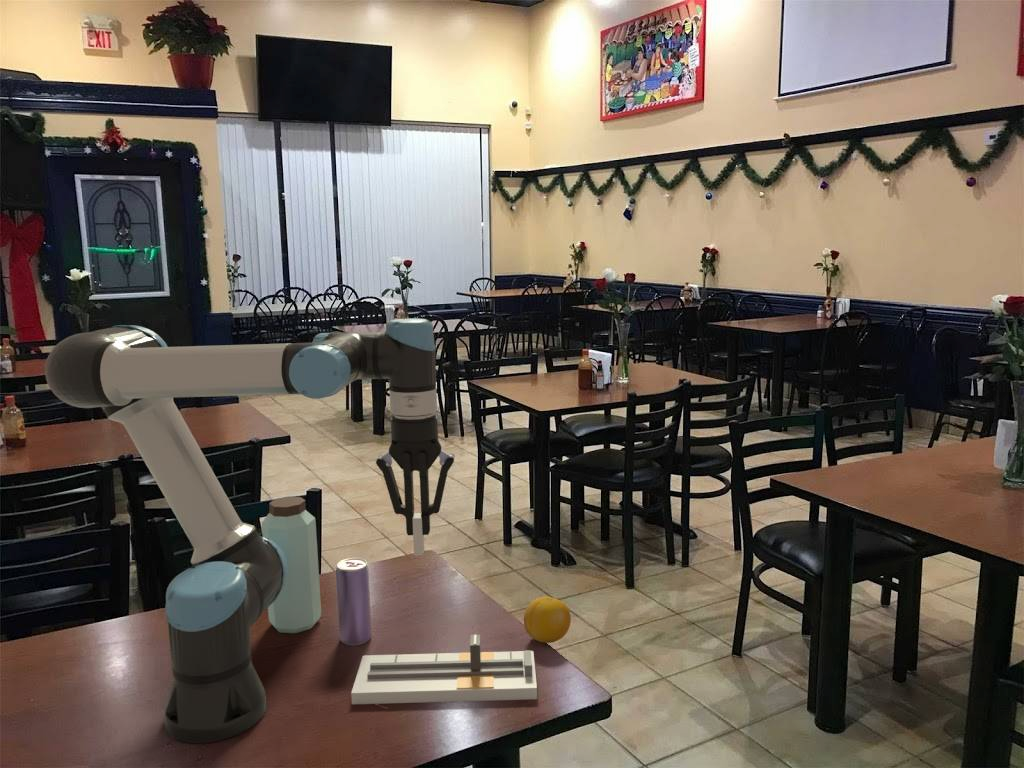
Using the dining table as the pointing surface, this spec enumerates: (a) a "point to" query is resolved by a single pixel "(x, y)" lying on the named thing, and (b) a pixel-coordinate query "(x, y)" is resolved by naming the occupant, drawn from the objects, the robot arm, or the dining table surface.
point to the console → (444, 678)
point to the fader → (475, 652)
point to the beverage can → (353, 601)
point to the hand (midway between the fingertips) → (419, 552)
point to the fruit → (547, 619)
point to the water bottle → (294, 565)
